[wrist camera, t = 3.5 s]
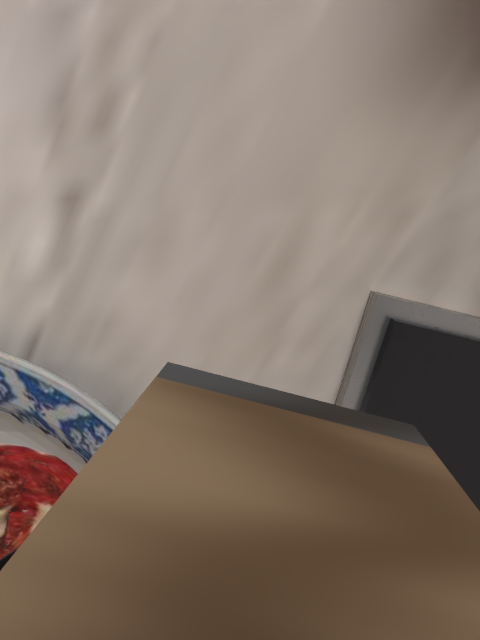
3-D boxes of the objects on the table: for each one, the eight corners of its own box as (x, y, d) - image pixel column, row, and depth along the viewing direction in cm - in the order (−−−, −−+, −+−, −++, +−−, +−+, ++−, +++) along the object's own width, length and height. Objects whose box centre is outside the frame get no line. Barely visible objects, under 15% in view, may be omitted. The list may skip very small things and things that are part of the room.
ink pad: (643, 357, 16) (682, 370, 15) (531, 578, 19) (554, 608, 17) (371, 290, 16) (382, 296, 15) (298, 519, 19) (301, 544, 18)
